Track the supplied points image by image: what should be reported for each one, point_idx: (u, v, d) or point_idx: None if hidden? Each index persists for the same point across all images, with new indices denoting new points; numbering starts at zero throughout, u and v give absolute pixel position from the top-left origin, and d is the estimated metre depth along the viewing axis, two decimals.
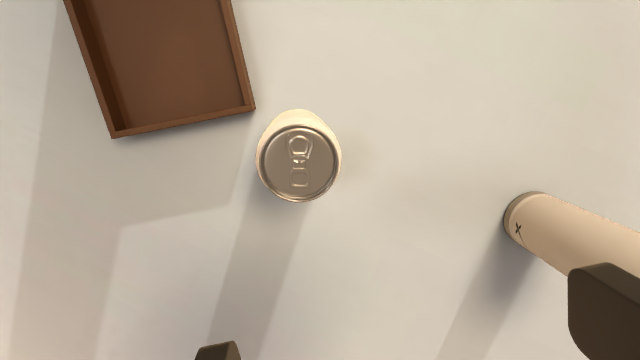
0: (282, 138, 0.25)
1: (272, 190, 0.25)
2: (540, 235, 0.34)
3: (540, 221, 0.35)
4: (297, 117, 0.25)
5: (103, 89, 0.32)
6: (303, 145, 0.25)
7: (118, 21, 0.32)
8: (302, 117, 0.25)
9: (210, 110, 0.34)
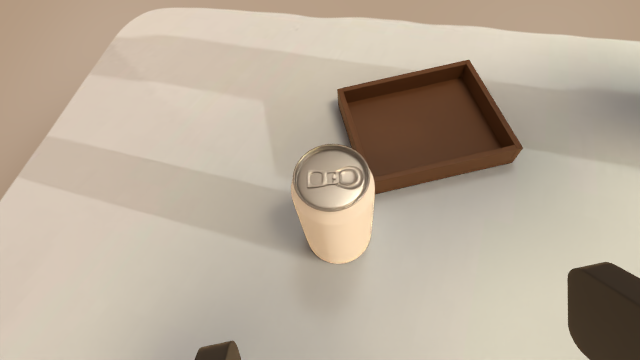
0: (354, 163, 0.26)
1: (305, 155, 0.27)
2: None
3: None
4: (373, 182, 0.27)
5: (374, 86, 0.42)
6: (349, 180, 0.26)
7: (424, 101, 0.42)
8: (374, 186, 0.26)
9: None
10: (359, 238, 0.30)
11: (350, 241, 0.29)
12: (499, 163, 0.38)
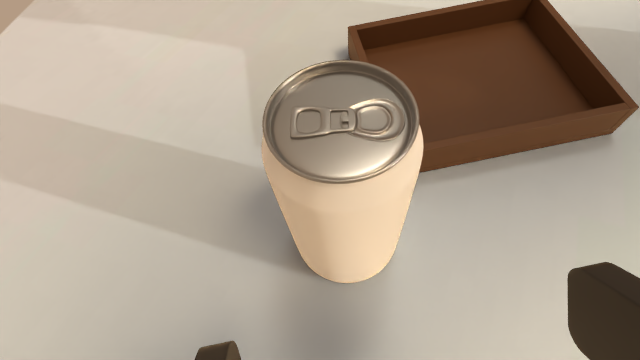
0: (386, 94, 0.13)
1: (290, 79, 0.14)
2: None
3: None
4: (421, 134, 0.14)
5: (401, 24, 0.29)
6: (375, 125, 0.13)
7: (472, 48, 0.30)
8: (422, 142, 0.14)
9: None
10: (385, 242, 0.17)
11: (370, 248, 0.16)
12: (594, 133, 0.25)
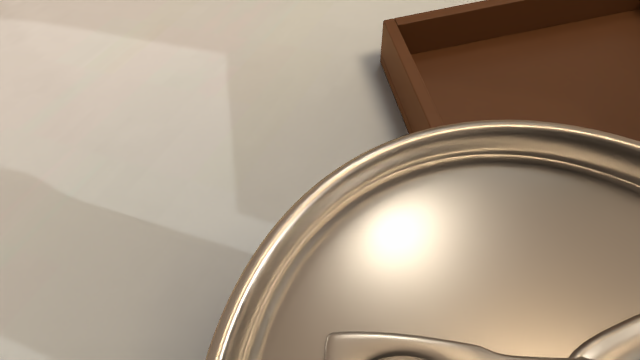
0: None
1: (314, 198, 0.04)
2: None
3: None
4: None
5: (465, 16, 0.19)
6: None
7: (572, 54, 0.19)
8: None
9: None
10: None
11: None
12: None
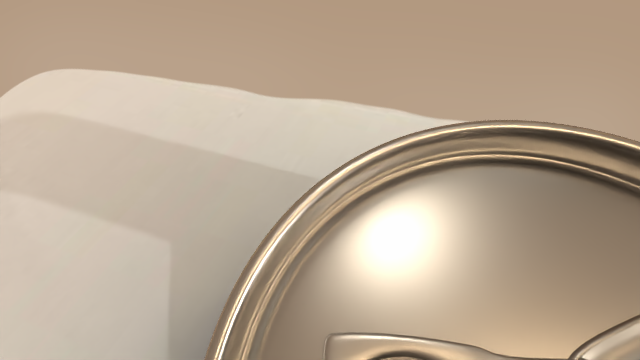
0: None
1: (314, 198, 0.04)
2: None
3: None
4: None
5: None
6: None
7: None
8: None
9: None
10: None
11: None
12: None
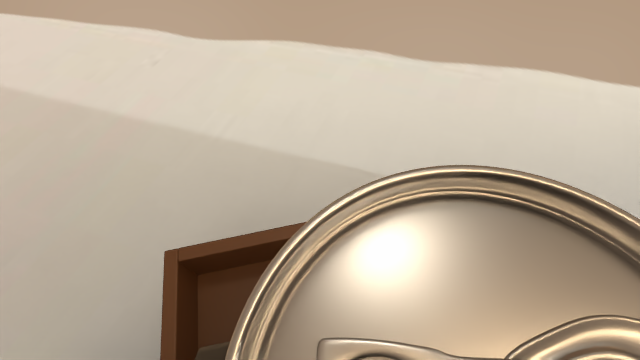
0: (633, 298, 0.04)
1: (310, 230, 0.04)
2: None
3: None
4: None
5: (268, 245, 0.15)
6: None
7: None
8: None
9: None
10: None
11: None
12: None
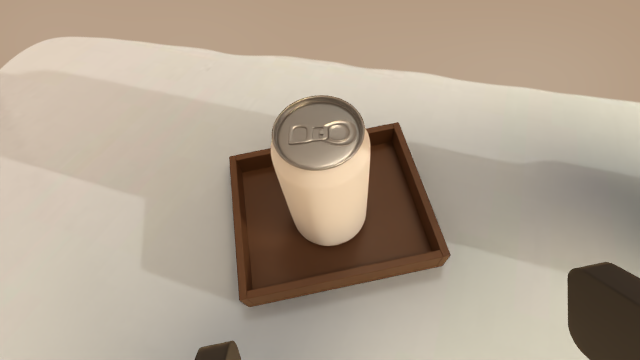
0: (347, 117, 0.22)
1: (288, 107, 0.22)
2: None
3: None
4: (369, 141, 0.22)
5: None
6: (339, 136, 0.21)
7: None
8: (369, 146, 0.22)
9: (251, 253, 0.30)
10: (351, 212, 0.25)
11: (340, 215, 0.25)
12: (424, 268, 0.29)
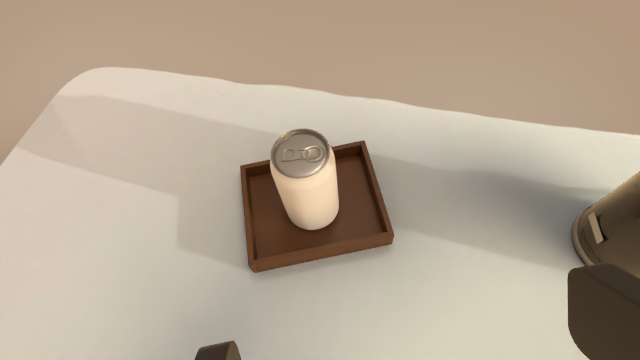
0: (319, 143, 0.34)
1: (281, 136, 0.34)
2: None
3: None
4: (334, 158, 0.34)
5: None
6: (313, 156, 0.33)
7: None
8: (334, 162, 0.34)
9: (256, 235, 0.42)
10: (324, 205, 0.37)
11: (317, 207, 0.37)
12: (378, 245, 0.41)
